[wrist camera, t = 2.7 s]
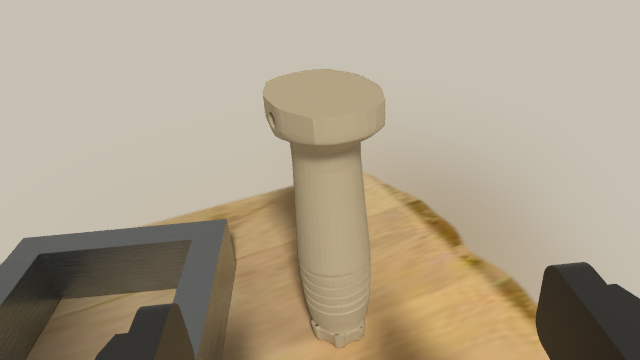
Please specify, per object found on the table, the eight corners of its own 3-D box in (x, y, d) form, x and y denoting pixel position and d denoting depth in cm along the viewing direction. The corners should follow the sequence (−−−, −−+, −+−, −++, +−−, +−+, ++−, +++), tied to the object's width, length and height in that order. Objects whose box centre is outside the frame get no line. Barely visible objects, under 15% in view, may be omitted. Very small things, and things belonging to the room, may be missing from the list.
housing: (-93, 487, 22) (-141, 436, 20) (45, 282, 34) (23, 238, 32) (205, 457, 22) (186, 405, 20) (236, 264, 34) (226, 219, 32)
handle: (350, 282, 31) (336, 63, 24) (404, 351, 26) (409, 99, 19) (283, 309, 30) (247, 82, 22) (327, 387, 25) (299, 127, 17)
